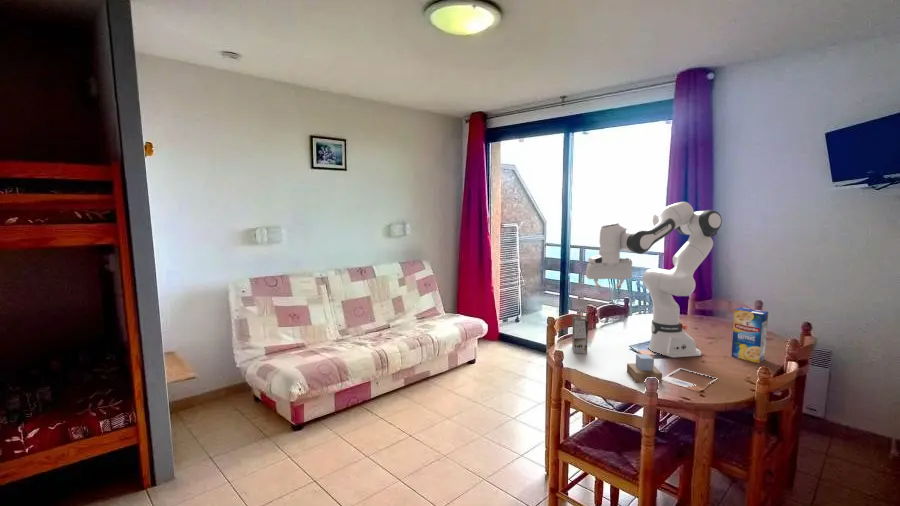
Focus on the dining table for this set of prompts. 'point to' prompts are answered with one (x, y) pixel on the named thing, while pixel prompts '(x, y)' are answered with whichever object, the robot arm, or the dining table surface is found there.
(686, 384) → the photo frame
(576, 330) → the coffee box
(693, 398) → the dining table surface
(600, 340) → the dining table surface
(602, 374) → the dining table surface
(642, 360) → the blue cube
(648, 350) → the terracotta cube
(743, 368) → the dining table surface
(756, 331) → the beverage box
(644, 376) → the walnut block
